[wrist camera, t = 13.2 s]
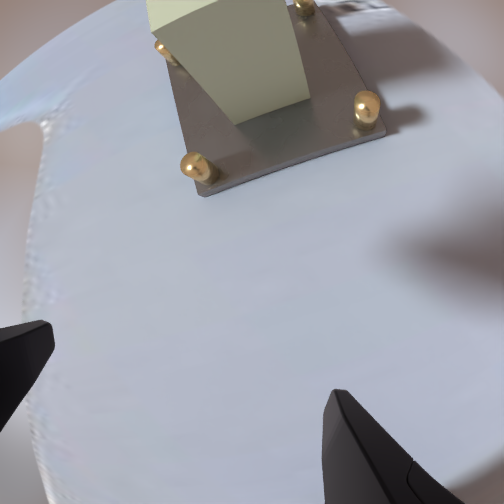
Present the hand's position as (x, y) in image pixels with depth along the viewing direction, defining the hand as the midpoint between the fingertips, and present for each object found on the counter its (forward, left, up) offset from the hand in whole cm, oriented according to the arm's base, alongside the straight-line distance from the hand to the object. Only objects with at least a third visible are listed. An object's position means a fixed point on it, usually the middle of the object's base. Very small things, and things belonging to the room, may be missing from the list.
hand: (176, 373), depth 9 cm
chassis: (+7, -13, -11) cm, 18 cm away
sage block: (+7, -13, -10) cm, 18 cm away
